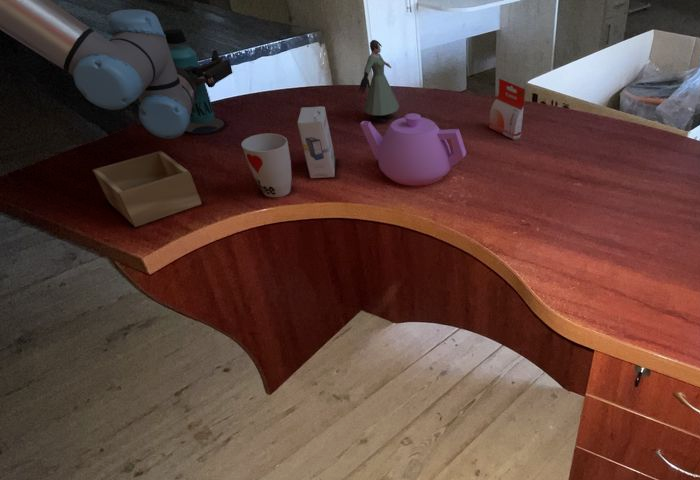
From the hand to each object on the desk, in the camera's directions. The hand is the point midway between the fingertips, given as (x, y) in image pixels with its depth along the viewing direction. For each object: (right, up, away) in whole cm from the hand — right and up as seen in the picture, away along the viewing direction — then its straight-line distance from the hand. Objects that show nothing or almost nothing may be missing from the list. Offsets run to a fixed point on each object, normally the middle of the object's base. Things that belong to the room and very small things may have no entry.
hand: (184, 57), depth 120 cm
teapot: (+53, -27, -4) cm, 59 cm away
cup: (+26, -34, -13) cm, 45 cm away
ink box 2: (+72, -12, +13) cm, 74 cm away
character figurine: (+41, -8, +15) cm, 44 cm away
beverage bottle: (0, -12, +7) cm, 14 cm away
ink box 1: (+33, -27, -5) cm, 43 cm away
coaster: (0, -12, +7) cm, 14 cm away
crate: (+5, -37, -18) cm, 42 cm away
